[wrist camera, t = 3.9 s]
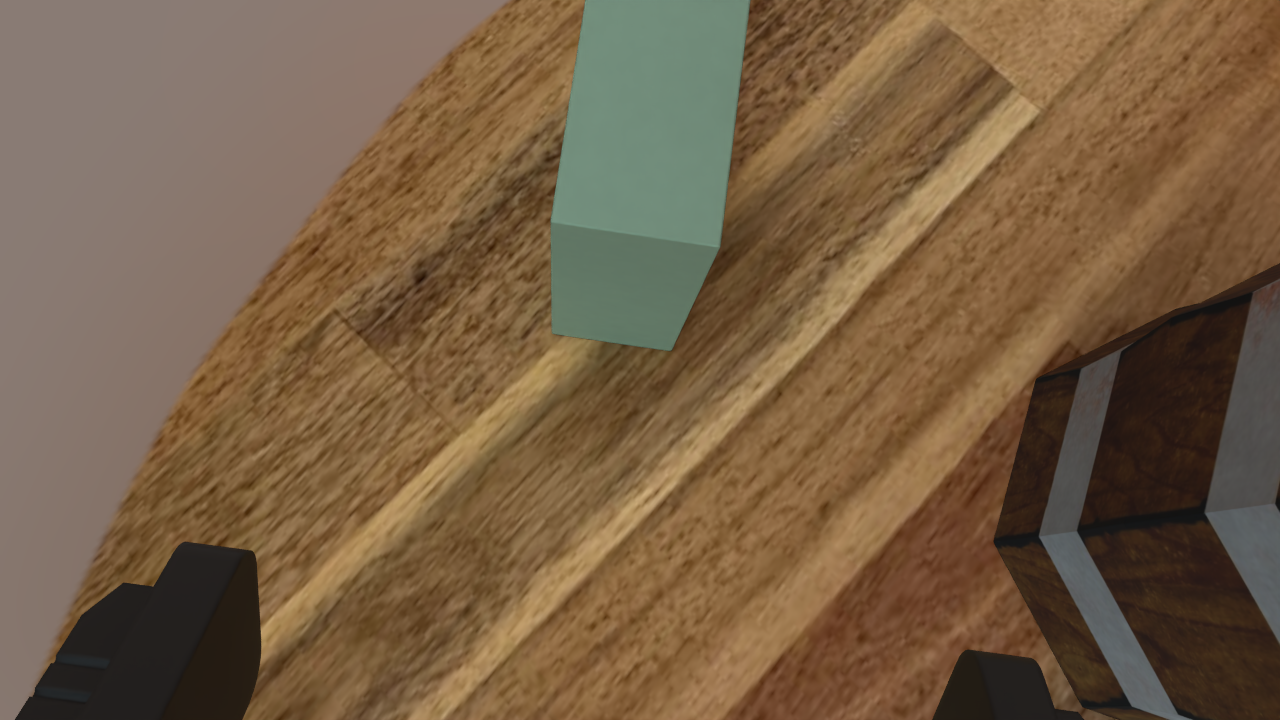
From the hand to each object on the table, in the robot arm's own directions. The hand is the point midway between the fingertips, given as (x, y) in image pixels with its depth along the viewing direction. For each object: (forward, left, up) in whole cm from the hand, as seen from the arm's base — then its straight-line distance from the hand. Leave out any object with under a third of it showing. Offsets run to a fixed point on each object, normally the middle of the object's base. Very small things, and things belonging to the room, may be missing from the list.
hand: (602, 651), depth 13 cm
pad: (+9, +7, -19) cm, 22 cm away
